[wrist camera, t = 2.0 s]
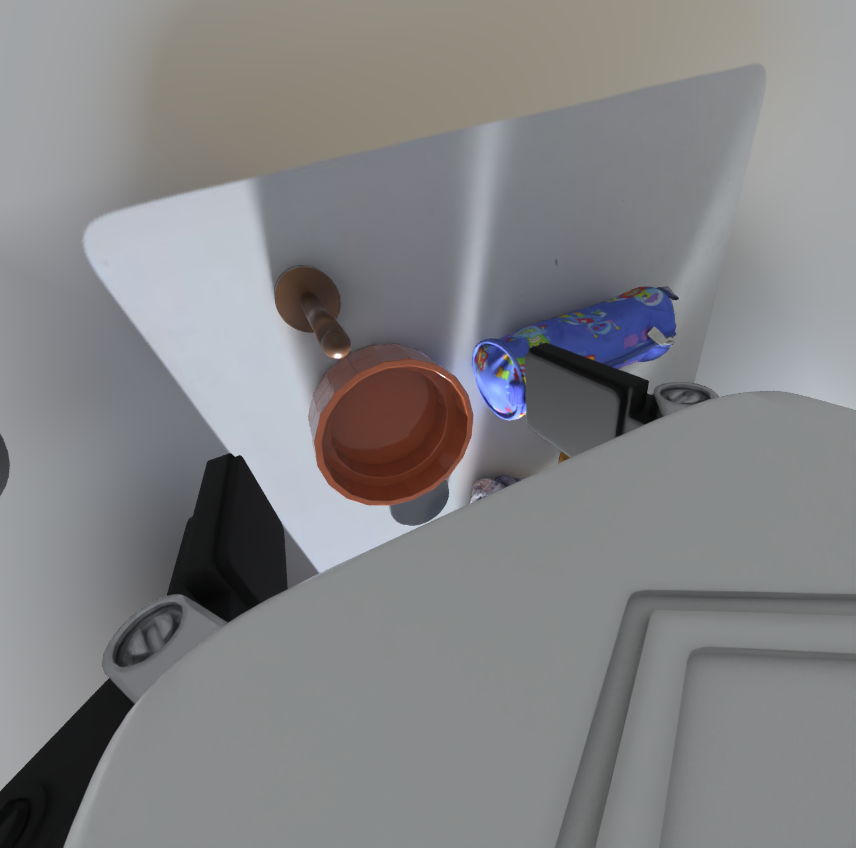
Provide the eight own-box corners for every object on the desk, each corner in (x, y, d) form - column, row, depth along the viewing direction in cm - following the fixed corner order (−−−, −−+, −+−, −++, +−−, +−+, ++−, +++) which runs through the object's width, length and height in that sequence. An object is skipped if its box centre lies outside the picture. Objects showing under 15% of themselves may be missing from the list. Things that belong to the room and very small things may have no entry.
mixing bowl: (279, 444, 34) (281, 478, 29) (360, 310, 32) (377, 324, 27) (399, 488, 43) (417, 520, 38) (471, 385, 40) (500, 406, 35)
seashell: (459, 484, 48) (516, 479, 53) (469, 523, 46) (527, 514, 50) (479, 472, 44) (539, 467, 48) (491, 514, 42) (552, 505, 46)
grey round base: (376, 514, 43) (378, 517, 43) (412, 463, 42) (414, 466, 41) (424, 528, 48) (426, 531, 47) (458, 483, 46) (460, 485, 46)
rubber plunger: (263, 306, 29) (259, 367, 15) (292, 251, 28) (316, 265, 14) (318, 338, 31) (356, 413, 18) (347, 289, 30) (409, 330, 17)
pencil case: (624, 278, 42) (706, 288, 34) (616, 346, 46) (688, 368, 38) (461, 333, 36) (513, 359, 29) (471, 403, 41) (519, 442, 33)
